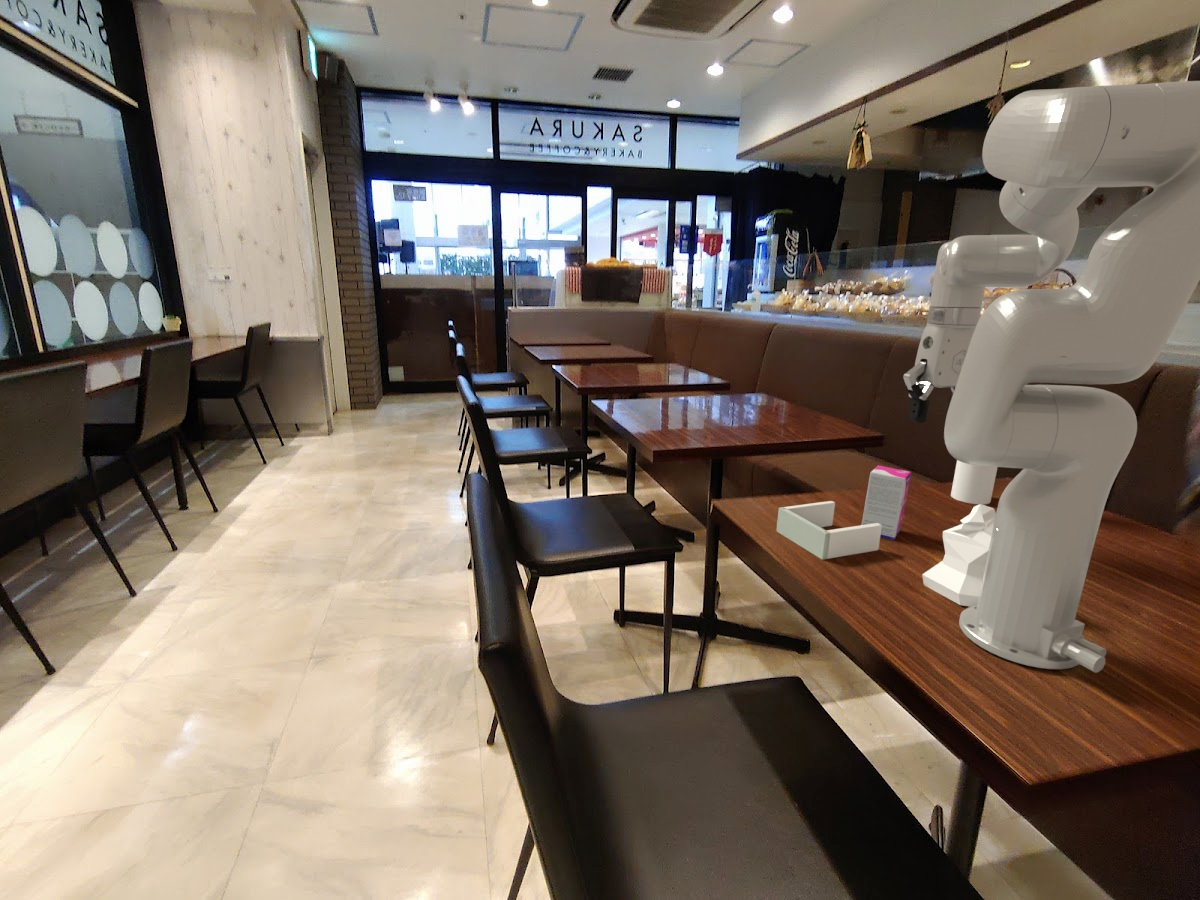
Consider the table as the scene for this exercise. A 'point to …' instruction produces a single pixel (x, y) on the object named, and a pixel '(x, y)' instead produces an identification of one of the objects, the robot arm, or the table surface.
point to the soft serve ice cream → (963, 558)
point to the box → (825, 531)
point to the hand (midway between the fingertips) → (935, 419)
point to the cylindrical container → (973, 483)
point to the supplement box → (886, 499)
